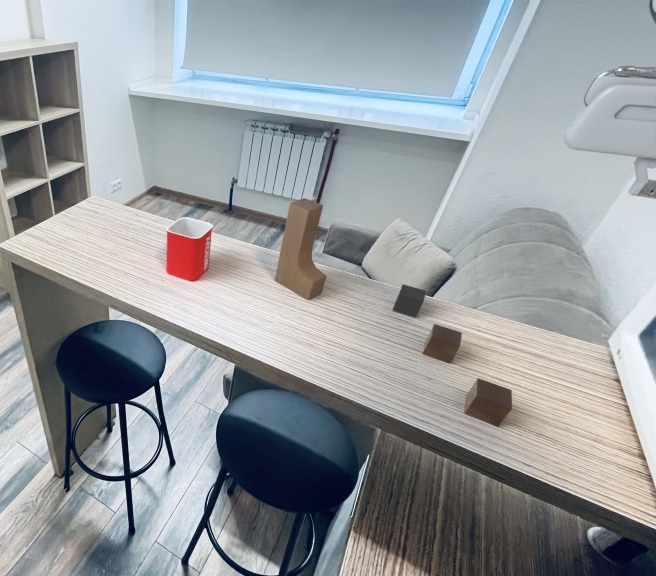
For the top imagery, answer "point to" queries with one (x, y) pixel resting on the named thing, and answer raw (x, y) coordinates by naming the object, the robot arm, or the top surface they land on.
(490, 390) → the near cube
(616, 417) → the top surface
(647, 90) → the robot arm
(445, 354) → the middle cube
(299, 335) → the top surface
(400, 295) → the cube
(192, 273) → the mug
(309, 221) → the wooden block
